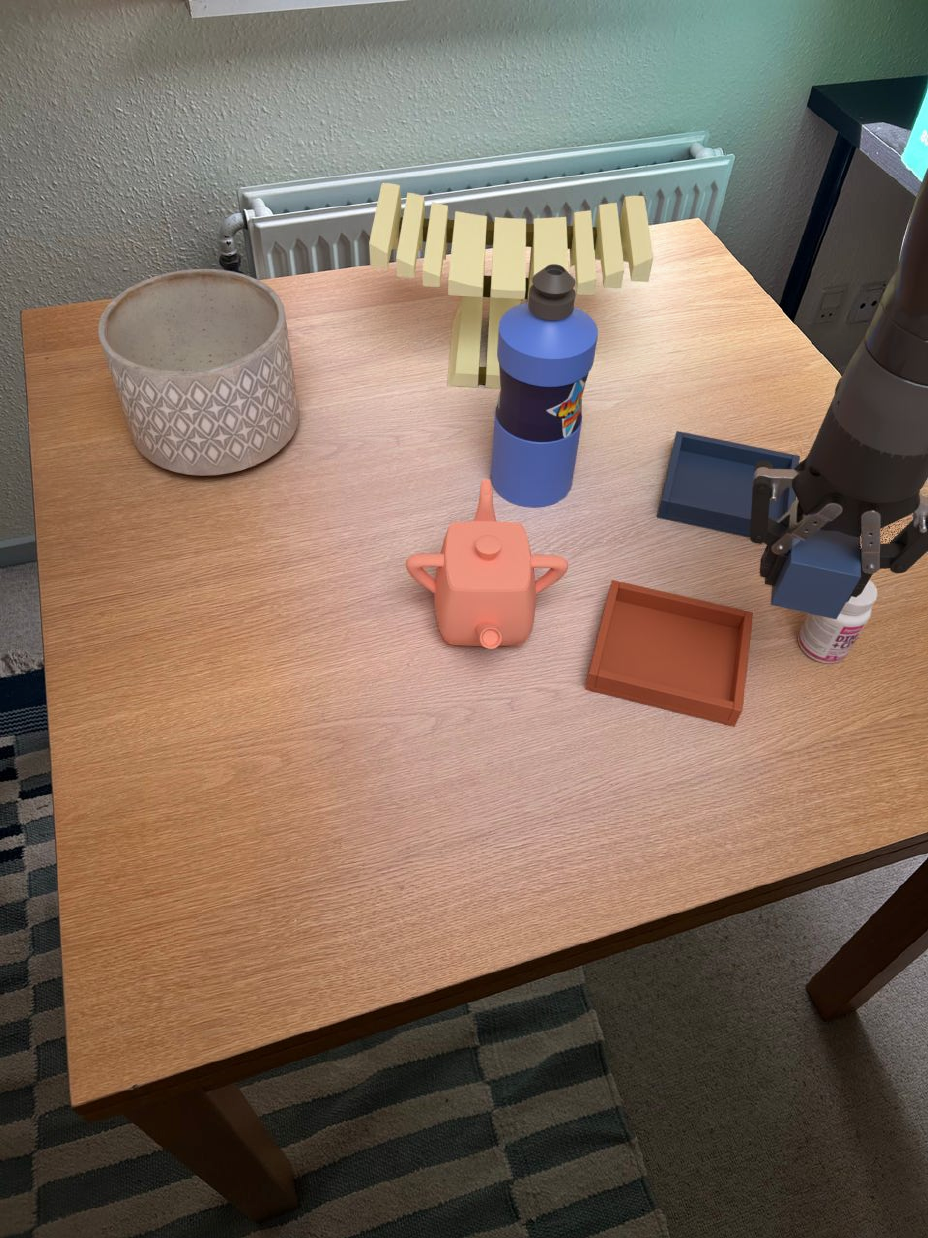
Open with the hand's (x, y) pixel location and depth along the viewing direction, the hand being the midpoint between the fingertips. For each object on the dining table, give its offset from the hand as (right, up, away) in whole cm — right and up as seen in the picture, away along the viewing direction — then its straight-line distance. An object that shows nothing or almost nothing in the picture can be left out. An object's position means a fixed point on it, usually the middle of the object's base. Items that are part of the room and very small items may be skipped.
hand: (806, 584), depth 71 cm
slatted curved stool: (-22, +31, +44) cm, 58 cm away
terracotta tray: (-8, -6, +15) cm, 18 cm away
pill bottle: (+8, -5, +16) cm, 19 cm away
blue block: (0, 0, 0) cm, 0 cm away
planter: (-55, +19, +33) cm, 67 cm away
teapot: (-25, -2, +17) cm, 30 cm away
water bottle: (-19, +13, +30) cm, 38 cm away
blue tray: (+2, +11, +29) cm, 31 cm away
